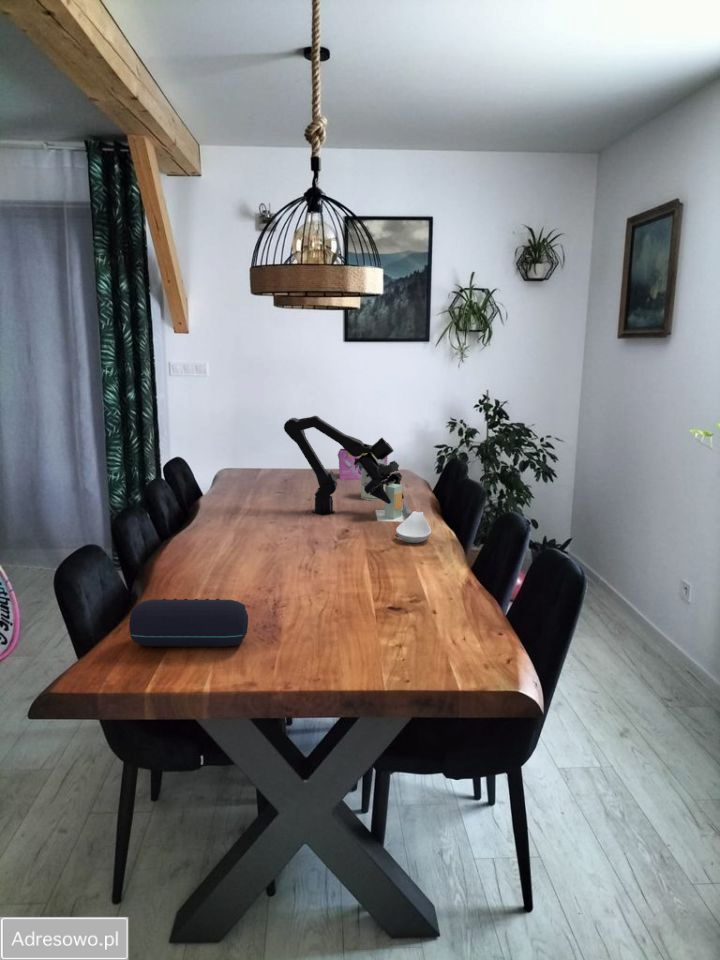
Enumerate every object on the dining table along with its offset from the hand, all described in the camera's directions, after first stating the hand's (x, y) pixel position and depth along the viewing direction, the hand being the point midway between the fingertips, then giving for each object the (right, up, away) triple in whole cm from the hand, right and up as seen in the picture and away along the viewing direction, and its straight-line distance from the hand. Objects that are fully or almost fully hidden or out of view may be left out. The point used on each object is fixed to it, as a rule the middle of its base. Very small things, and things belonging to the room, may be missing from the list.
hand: (396, 500), depth 246 cm
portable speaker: (-50, -28, -100) cm, 116 cm away
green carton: (-1, -6, +2) cm, 7 cm away
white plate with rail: (-1, -6, +4) cm, 8 cm away
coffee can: (-8, 0, +35) cm, 36 cm away
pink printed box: (-12, +8, +74) cm, 75 cm away
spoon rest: (+5, -12, -17) cm, 22 cm away
